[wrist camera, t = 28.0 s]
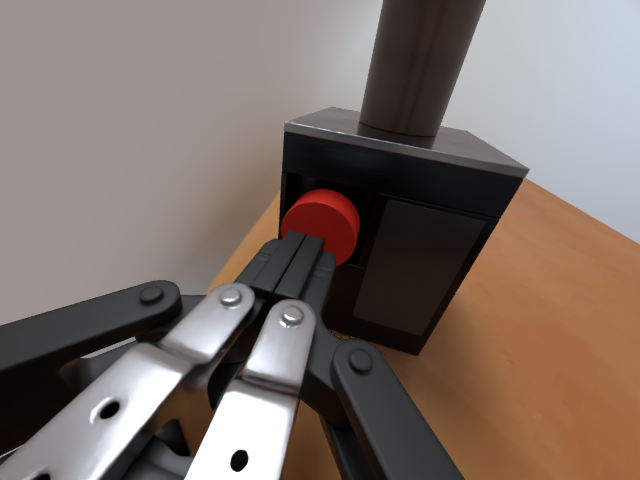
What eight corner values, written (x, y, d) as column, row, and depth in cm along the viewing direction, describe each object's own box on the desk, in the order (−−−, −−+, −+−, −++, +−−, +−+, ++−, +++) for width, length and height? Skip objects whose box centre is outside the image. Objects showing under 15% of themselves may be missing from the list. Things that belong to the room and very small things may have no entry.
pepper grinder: (450, 136, 14) (534, -76, 10) (406, 137, 12) (494, -146, 7) (390, 120, 17) (435, -53, 13) (343, 118, 14) (379, -99, 10)
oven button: (347, 277, 12) (364, 212, 10) (279, 258, 13) (282, 193, 11) (351, 257, 14) (367, 197, 12) (290, 241, 14) (295, 181, 12)
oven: (418, 357, 16) (531, 170, 10) (273, 313, 18) (283, 121, 11) (410, 265, 25) (467, 130, 18) (312, 240, 26) (331, 106, 19)
